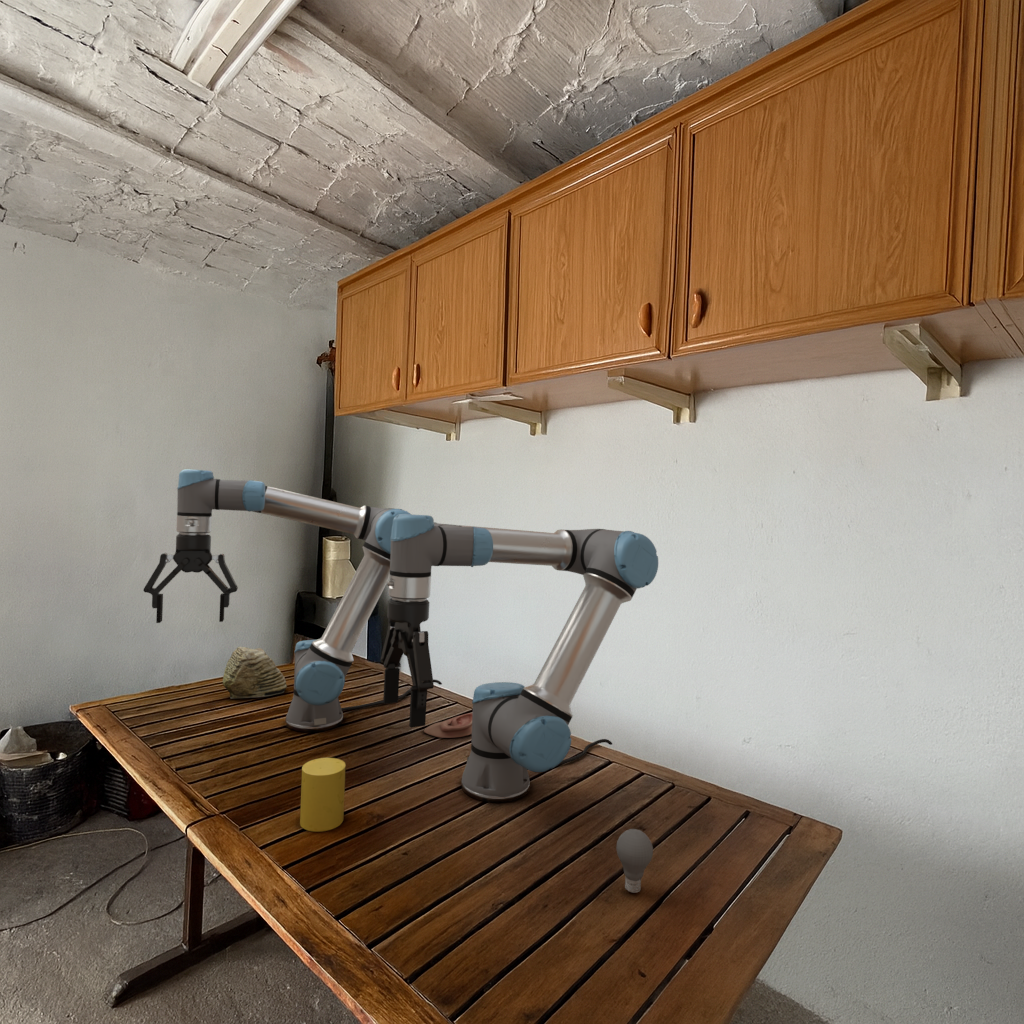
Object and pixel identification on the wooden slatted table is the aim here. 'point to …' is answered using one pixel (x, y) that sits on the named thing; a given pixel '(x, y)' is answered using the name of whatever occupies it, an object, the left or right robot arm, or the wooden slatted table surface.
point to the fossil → (252, 674)
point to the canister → (322, 794)
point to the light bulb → (634, 857)
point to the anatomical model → (452, 727)
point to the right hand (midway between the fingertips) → (403, 714)
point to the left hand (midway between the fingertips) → (190, 621)
